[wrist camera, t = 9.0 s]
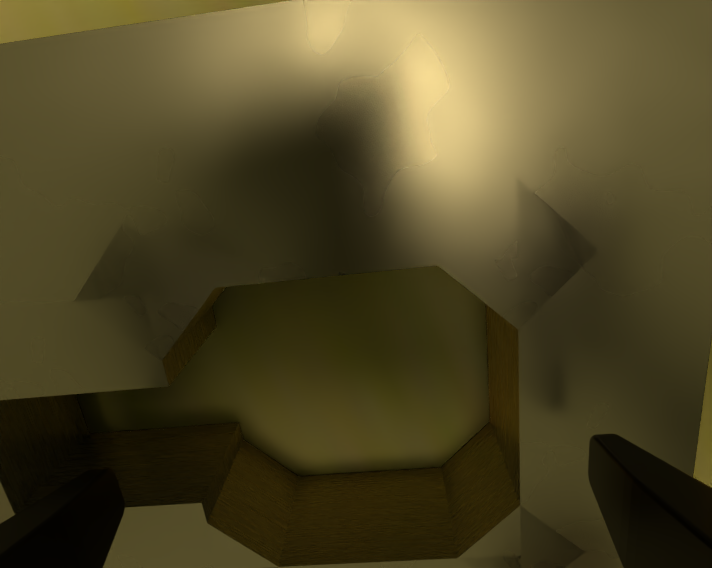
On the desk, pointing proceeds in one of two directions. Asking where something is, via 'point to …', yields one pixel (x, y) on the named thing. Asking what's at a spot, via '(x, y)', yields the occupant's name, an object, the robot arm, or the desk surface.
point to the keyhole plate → (360, 257)
